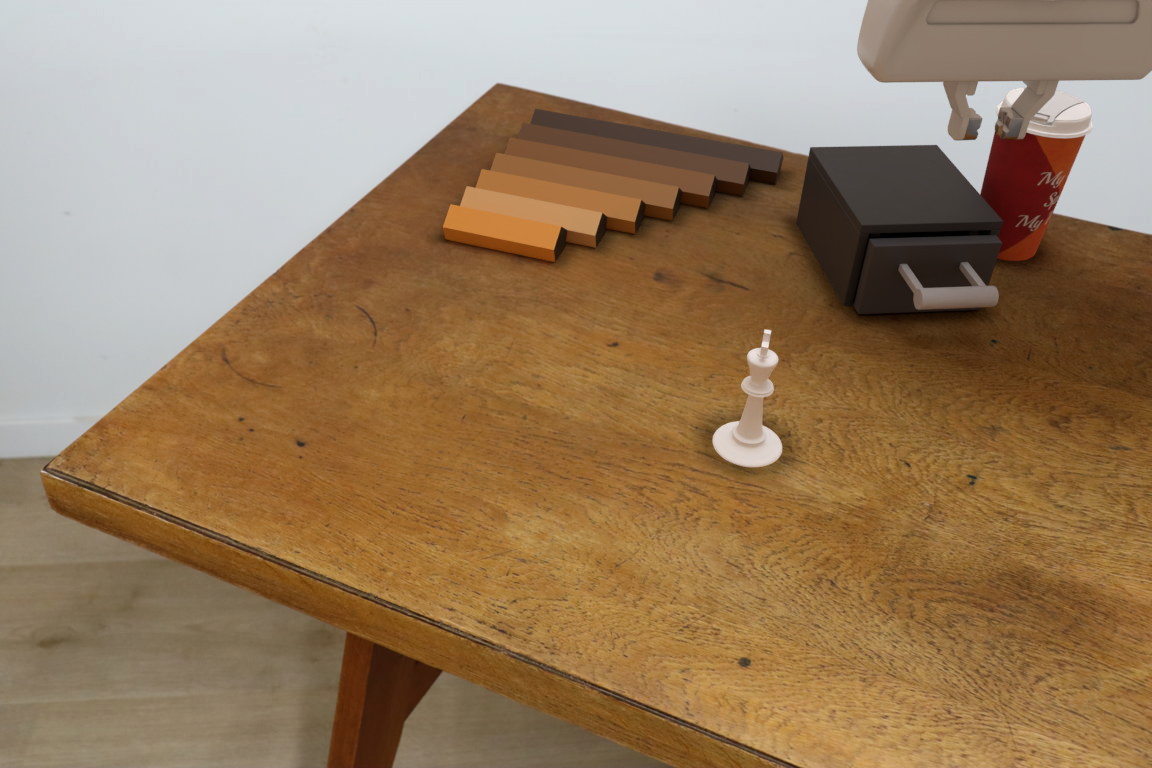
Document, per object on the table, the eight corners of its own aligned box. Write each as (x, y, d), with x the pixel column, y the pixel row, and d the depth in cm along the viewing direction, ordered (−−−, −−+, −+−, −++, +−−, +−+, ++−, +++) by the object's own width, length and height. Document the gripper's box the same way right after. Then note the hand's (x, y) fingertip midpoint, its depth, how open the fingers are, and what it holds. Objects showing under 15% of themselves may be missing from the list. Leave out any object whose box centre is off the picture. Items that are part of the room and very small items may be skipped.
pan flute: (780, 176, 109) (540, 132, 114) (785, 144, 107) (541, 101, 112) (727, 308, 90) (443, 248, 96) (733, 272, 88) (442, 213, 93)
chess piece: (705, 467, 75) (723, 346, 68) (715, 422, 78) (733, 304, 72) (778, 481, 74) (803, 360, 68) (785, 435, 78) (809, 317, 71)
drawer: (1009, 348, 86) (1033, 279, 82) (880, 353, 84) (899, 283, 80) (923, 232, 100) (940, 168, 96) (811, 235, 98) (824, 171, 94)
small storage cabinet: (976, 307, 92) (1003, 221, 87) (841, 312, 90) (861, 225, 85) (915, 225, 102) (937, 144, 97) (794, 228, 101) (810, 146, 96)
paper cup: (1035, 282, 95) (1089, 131, 87) (947, 256, 98) (990, 107, 90) (1053, 244, 101) (1105, 98, 92) (969, 220, 104) (1012, 76, 95)
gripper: (1169, -82, 73) (1100, 115, 81) (872, -85, 70) (832, 119, 79) (1225, -53, 68) (1145, 154, 77) (908, -55, 66) (861, 159, 74)
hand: (984, 136), depth 78 cm, fingers closed
